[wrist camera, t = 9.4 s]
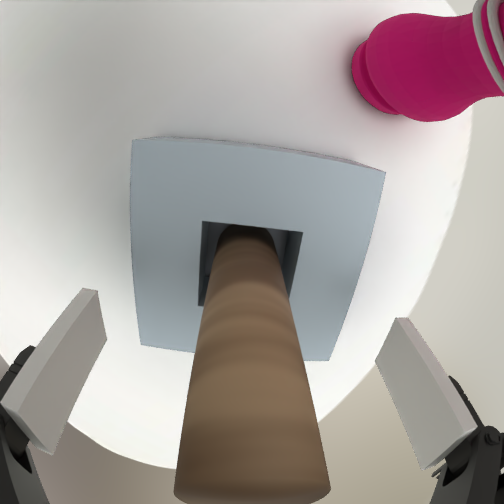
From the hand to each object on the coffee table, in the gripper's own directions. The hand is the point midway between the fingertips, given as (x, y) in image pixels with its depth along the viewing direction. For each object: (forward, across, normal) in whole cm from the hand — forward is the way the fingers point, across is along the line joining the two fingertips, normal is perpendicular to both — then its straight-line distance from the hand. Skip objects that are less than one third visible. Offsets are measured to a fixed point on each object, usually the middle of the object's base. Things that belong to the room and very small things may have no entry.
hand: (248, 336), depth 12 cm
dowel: (+10, 0, 0) cm, 10 cm away
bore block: (+11, 0, 0) cm, 11 cm away
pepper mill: (+11, +9, +14) cm, 20 cm away
